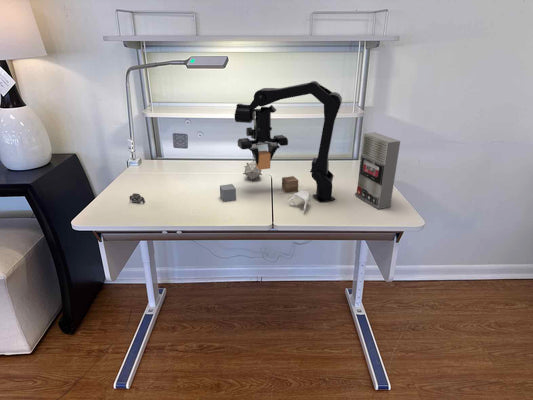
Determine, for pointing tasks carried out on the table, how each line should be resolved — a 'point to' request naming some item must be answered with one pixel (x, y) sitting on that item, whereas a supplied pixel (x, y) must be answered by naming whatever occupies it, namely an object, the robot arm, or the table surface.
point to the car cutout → (136, 199)
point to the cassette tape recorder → (377, 169)
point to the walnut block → (290, 184)
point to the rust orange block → (263, 160)
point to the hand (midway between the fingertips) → (262, 163)
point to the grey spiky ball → (252, 170)
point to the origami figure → (301, 197)
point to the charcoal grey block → (227, 193)
